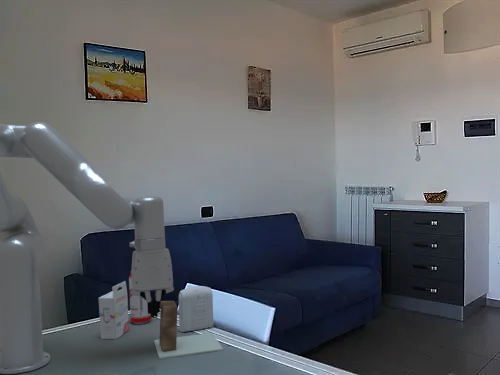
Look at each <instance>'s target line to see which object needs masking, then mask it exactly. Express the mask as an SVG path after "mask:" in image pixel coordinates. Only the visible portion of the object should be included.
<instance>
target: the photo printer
mask: <svg viewBox="0 0 500 375" xmlns="http://www.w3.org/2000/svg"><path fill="white" fill-rule="evenodd" d="M213 298H214V297H213V290H212V288H211V287H208V286H205V285H195V286H194V285H193V286H189V287H186V288H184V289H182V290H180V291H179V293H178V316H179V317H178V321H179V332H181V333H185V332H191V331H199V330H203V328H205V329H209V328H208V327H212V328H213V327H214V303H213Z"/></svg>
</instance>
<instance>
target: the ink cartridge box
mask: <svg viewBox="0 0 500 375" xmlns="http://www.w3.org/2000/svg"><path fill="white" fill-rule="evenodd" d="M119 288H121V289H119ZM111 289H112V291H110V292H108V293H106V294H103V295H101V296H100V297H98V310H99V312H98V314H99V327H100V328H99V330H100V331H99V332H100V340H116V339H118V338H121V336H123V335H124V334H126V332H128V331H130V324H129V320H130V319H129V301H128V288H127V282H126V280H124V281H122V282H120V283H117V284H116V285H113V286H112V288H111Z"/></svg>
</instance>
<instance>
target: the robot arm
mask: <svg viewBox="0 0 500 375" xmlns="http://www.w3.org/2000/svg"><path fill="white" fill-rule="evenodd" d="M0 158H16V159H17V158H20V159H22V158H23V159H34V160H35V161H36V162H38V164H39V165H40V166H42V168H44V169H45V170H46V171H47V172H49V173H50V175H52V176H53V178H54V179H56V180H57V181H58V182H59V183H60V184H61V185H62V186H63V187H64V188H65V189H66V190H67V191H68V192H69V193H70V194H72V196H73V197H75V198H76V199H77V201H79V203H81V204H82V205H83V206H84V207H85V209H87V210H88V211H89V212H90V213H92V215H93V216H95V217H96V218H97V219H98V220H99V221H100V222H101V224H104V226H106V227H108V228H110V229H114V230H121V229H123V228H125V227H127V226H128V225H133V226H134V227H133V228H134V240H132V241H129V248H134V249H135V250H134V251H133V252H132V257H131V258H132V259H131V271H132V291H131V294H132V295H135V296H141V297H142V298H144V299H145V300H146V301H147V307H148V314H150V315H151V319H152V318H153V319H154V317H155V318H158V317H159V315H158V314H159V313H160V308H161V301H162V300H161V299H162V298H163V297H164V296H165V295H166V294H169V293H171V292H173V291H174V290H175V287H174V277H173V276H174V275H173V264H172V257H171V254H170V250H169V248H167V247H166V233H165V230H166V229H165V212H164V201H163V199H162V197H159V196H141V197H140V196H139V197H136V198H134V197H133V198H131V197H130V198H129V197H123V196H121V195H120V194H119V193H118V192H117V191H116V190H115V189H114V188H112V186H110V185H109V184H108V183H107V182H106V181H105V180H104V178H102V177H101V176H100V174H99V173H98V172H97V171H96V169H95V167H94V166H93V165H92V164H91V162H90V161H89V160H88V158H86V157H85V156H83V155H82V154H81V153H80V152H79V151H78V150H77V149H76V148H75V147H74V146H73V145H71V143H69V141H67V139H66V138H64V137H63V136H62V135H61V134H60V132H59V131H58V130H57V129H56V128H55V127H53V126H52V125H50V124H49V123H46V122H43V121H35V122H32V123H30V124H28V125H19V124H4V123H1V122H0ZM45 251H46V246H45V243H44V239H43V237H42V235H41V232H40V231H39V228H38V226H37V223H36V221H35V220H34V218H33V215H32V213H31V211H30V209H29V207H28V205H27V204H26V203H25V201H24V199H22V198H21V197H19V196H18V195H16V194H13V193H11V191H10V190H9V188H8V187H7V185H6V182H5V180H4V178H3V175H2V173H1V172H0V374H1V375H11V374H12V375H13V374H14V375H15V374H23V373H27V372H30V371H34V370H37V369H40V368H42V367H44V366H46V365H48V364H49V363H50V361H51V354H50V353H48V352H46V351H44V343H43V339H44V338H43V321H42V300H41V285H40V276H39V274H40V273H39V268H38V267H39V266H38V264H39V263H40V262H41V261H42V260H43V257H44V255H45ZM151 291H154V292H155V294H154V297H153V298H152V297H151V296H152V295H151Z"/></svg>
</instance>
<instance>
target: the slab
mask: <svg viewBox="0 0 500 375" xmlns="http://www.w3.org/2000/svg"><path fill="white" fill-rule="evenodd" d="M159 316H160V318H159V339H160V346H161V349H162V351H174V350H176V340H177V337H178V335H177V333H178V332H177V331H178V330H177V329H178V306H177V303H176V301H174V300H160V314H159Z"/></svg>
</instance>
